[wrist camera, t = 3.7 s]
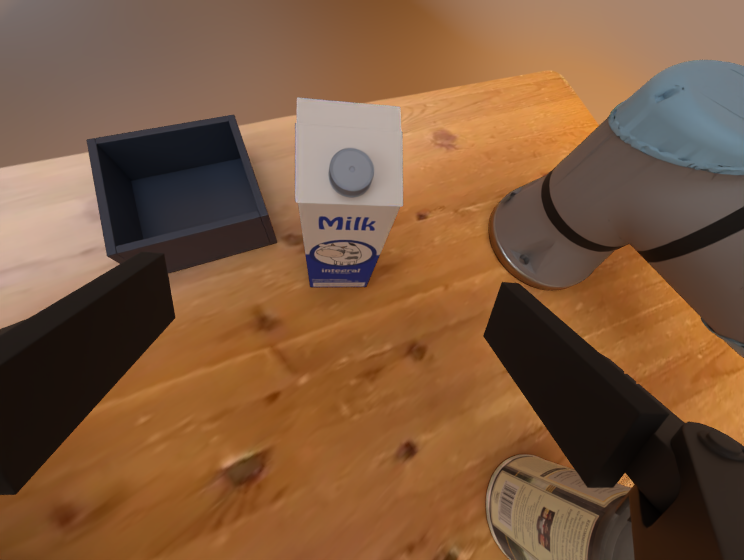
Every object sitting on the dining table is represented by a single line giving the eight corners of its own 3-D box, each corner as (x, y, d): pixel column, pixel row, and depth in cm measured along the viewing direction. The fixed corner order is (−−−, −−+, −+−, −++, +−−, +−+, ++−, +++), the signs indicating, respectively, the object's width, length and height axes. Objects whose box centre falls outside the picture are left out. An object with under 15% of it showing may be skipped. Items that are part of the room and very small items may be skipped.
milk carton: (365, 237, 39) (402, 103, 21) (367, 287, 37) (411, 188, 19) (309, 236, 38) (295, 94, 20) (308, 287, 36) (291, 182, 17)
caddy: (247, 155, 41) (233, 114, 35) (277, 242, 37) (268, 214, 31) (125, 180, 37) (85, 139, 31) (146, 279, 34) (106, 256, 28)
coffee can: (588, 559, 31) (781, 686, 18) (496, 578, 30) (635, 734, 16) (560, 447, 34) (707, 485, 21) (476, 458, 33) (579, 508, 20)
